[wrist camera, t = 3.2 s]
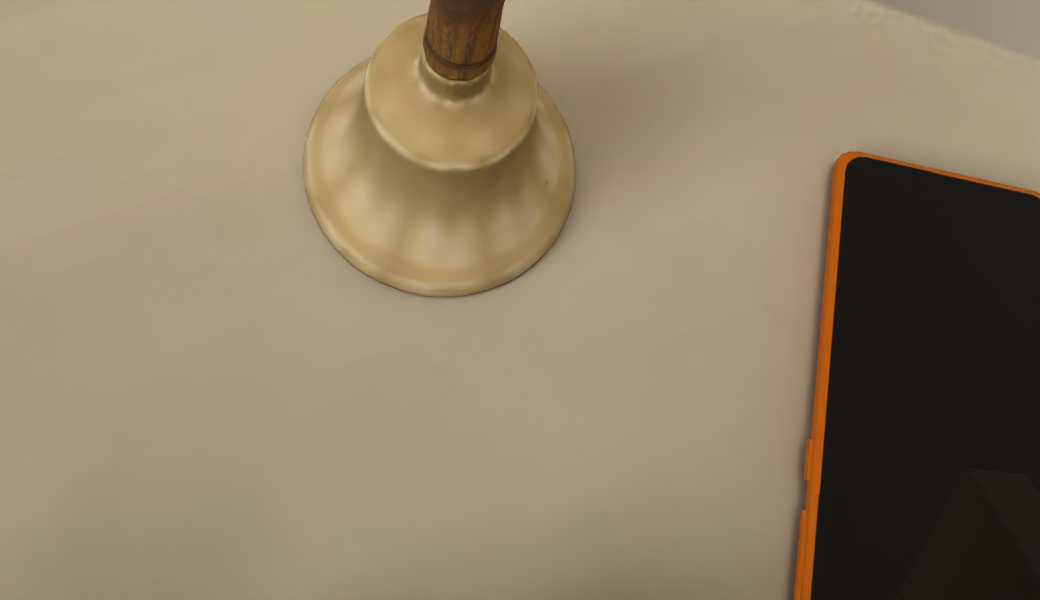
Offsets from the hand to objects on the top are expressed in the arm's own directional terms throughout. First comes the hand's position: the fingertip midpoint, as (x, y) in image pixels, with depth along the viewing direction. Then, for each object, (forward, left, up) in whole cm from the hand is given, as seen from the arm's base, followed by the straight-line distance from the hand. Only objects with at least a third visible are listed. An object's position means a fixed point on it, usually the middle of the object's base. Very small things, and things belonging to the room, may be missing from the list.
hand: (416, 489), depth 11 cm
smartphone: (+9, +13, -15) cm, 22 cm away
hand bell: (-7, +8, -16) cm, 19 cm away
